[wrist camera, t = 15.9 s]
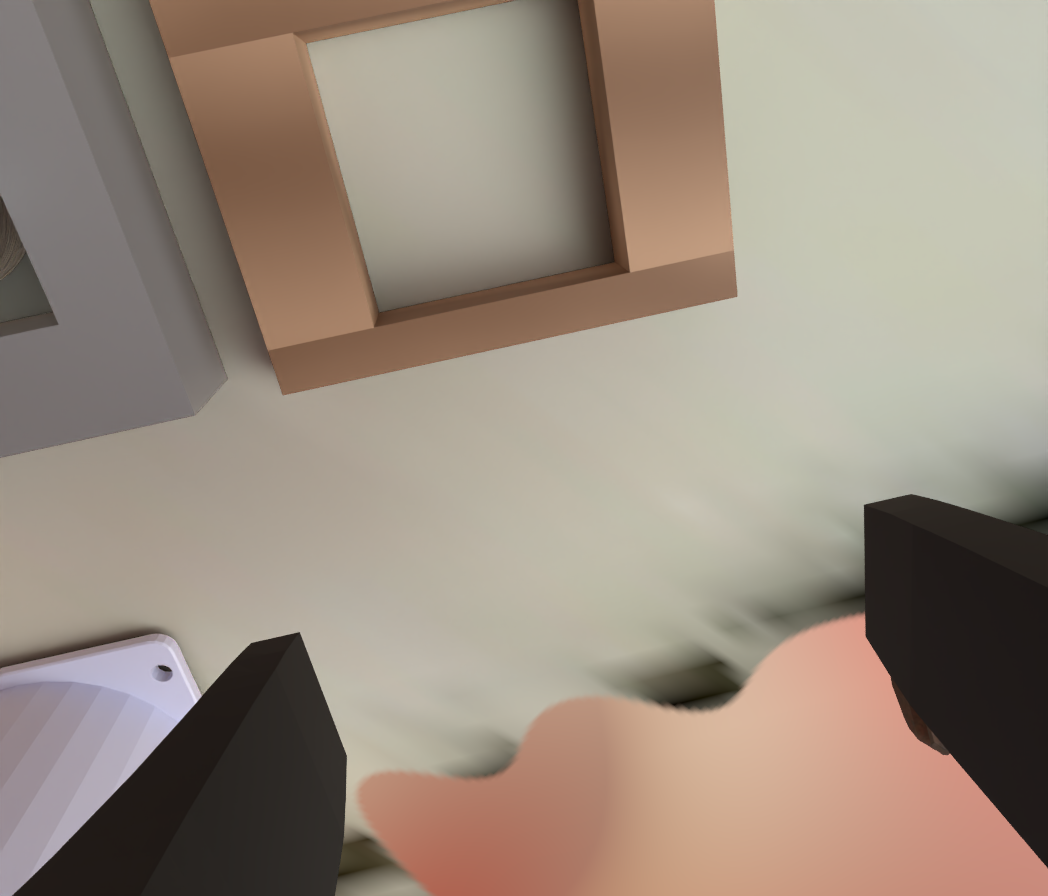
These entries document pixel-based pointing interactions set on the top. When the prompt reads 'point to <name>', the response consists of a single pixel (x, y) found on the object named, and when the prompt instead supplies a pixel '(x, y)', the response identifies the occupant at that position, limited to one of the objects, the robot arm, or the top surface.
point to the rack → (88, 247)
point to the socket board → (326, 218)
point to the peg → (8, 243)
